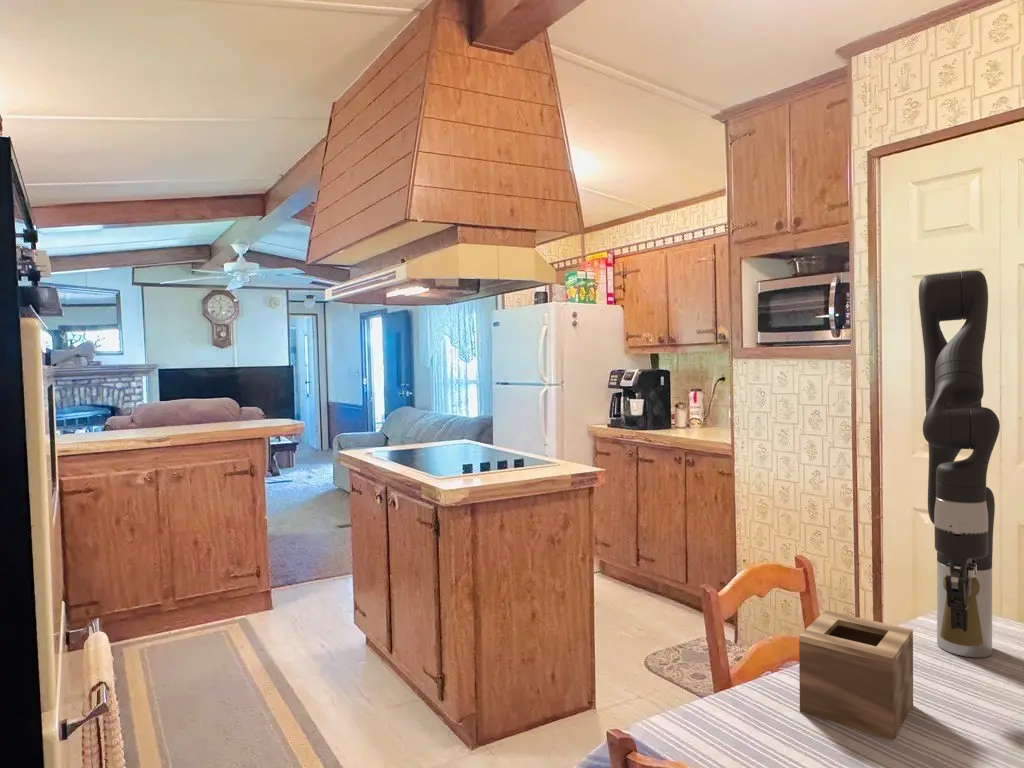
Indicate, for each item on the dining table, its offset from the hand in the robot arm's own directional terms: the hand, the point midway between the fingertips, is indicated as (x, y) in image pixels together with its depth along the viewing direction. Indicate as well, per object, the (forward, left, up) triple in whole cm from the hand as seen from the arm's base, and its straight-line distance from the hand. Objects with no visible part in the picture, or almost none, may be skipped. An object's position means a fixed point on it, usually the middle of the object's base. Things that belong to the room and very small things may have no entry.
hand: (961, 625), depth 114 cm
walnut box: (+12, -13, -14) cm, 23 cm away
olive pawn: (0, 0, -3) cm, 3 cm away
